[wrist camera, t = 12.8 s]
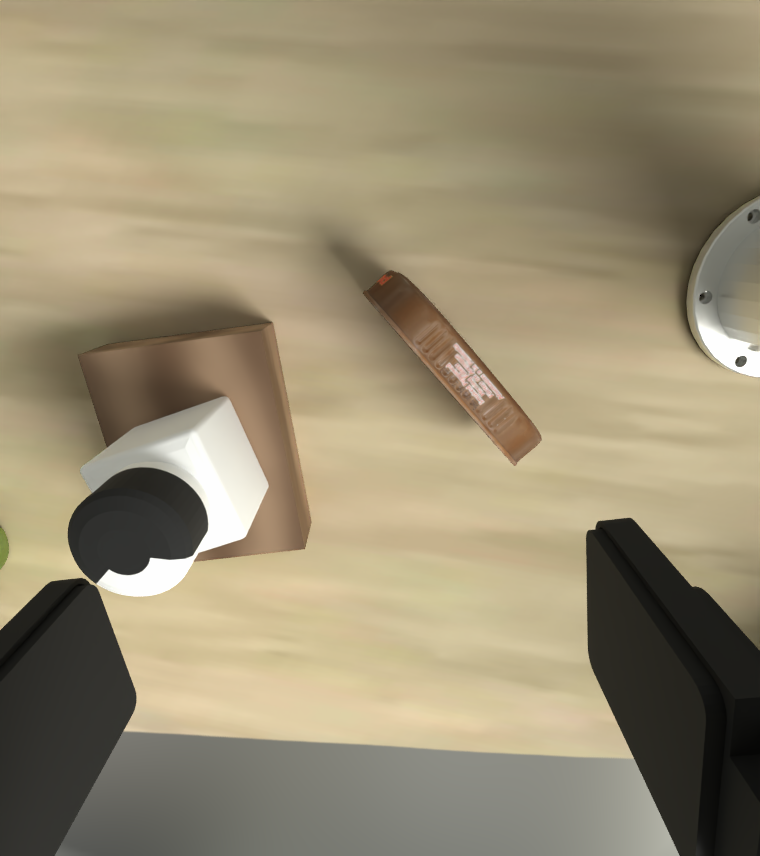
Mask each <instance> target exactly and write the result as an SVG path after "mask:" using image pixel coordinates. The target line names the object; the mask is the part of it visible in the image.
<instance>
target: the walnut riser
mask: <svg viewBox="0 0 760 856" xmlns="http://www.w3.org/2000/svg"><path fill="white" fill-rule="evenodd" d="M78 358H79V361H80V364H81V367H82V370H83V373H84V376H85V380H86V383H87V386H88V389H89V392H90V395H91V398H92V402H93V405H94V408H95V411H96V414H97V417H98V421H99V424H100V427H101V430H102V433H103V436H104V439H105V443H106V446H107V447H109V446H110V445H111V444H113V443H114V442H115V441H117V440H118V439H119V438H121V437H122V436H123V435H125V434H126V433H127V432H129V431H130V430H131V429H133V428H134V427H137V426H139V425H142V424H145V423H148V422H151V421H154V420H157V419H159V418H162V417H165V416H168V415H171V414H174V413H177V412H179V411H182V410H185V409H188V408H191V407H194V406H197V405H200V404H202V403H205V402H208V401H211V400H214V399H217V398H220V397H224V396H226V397H228V398H229V399H230V401H231V403H232V405H233V408H234V410H235V412H236V414H237V416H238V418H239V421H240V423H241V425H242V427H243V429H244V432H245V434H246V436H247V438H248V440H249V442H250V445H251V447H252V449H253V451H254V453H255V456H256V458H257V460H258V462H259V464H260V466H261V469H262V471H263V473H264V475H265V477H266V480H267V482H268V486H269V487H268V489H267V491H266V493H265V495H264V498H263V500H262V502H261V504H260V506H259V509H258V511H257V513H256V515H255V517H254V519H253V522H252V524H251V526H250V528H249V530H248V533H247V535H246V537H244V538H243V539H241V540H237V541H234V542H231V543H228V544H225V545H222V546H218V547H215V548H212V549H209V550H206V551H203V552H200V553H198V555H197V556H196V558H195V560H194V561H193V562H196V561H205V560H213V559H222V558H231V557H239V556H248V555H257V554H266V553H274V552H283V551H292V550H301V549H305V547H306V542H307V538H308V534H309V530H310V526H311V517H310V512H309V507H308V501H307V496H306V491H305V486H304V481H303V476H302V470H301V465H300V460H299V455H298V450H297V445H296V439H295V434H294V429H293V424H292V419H291V414H290V408H289V403H288V398H287V393H286V388H285V383H284V377H283V372H282V367H281V362H280V357H279V352H278V346H277V341H276V336H275V331H274V326H273V322H272V323H264V324H257V325H249V326H242V327H234V328H227V329H219V330H212V331H204V332H196V333H189V334H181V335H174V336H166V337H159V338H151V339H144V340H136V341H129V342H121V343H113V344H107V345H104V346H102V347H99V348H96V349H93V350H91V351H88V352H85V353H82V354H80V355H78Z"/></svg>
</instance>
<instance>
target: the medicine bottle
mask: <svg viewBox="0 0 760 856" xmlns="http://www.w3.org/2000/svg"><path fill="white" fill-rule="evenodd" d="M80 473H81V475H82V477H83V478H84V480H85V482H86V484H87V485H88V487H89V489H90V490H91V492H92V494H91V495H90V496H88V497H87V498H86V499H85V500H84V501H83V502H81V504H80V505H79V506H78V507H77V508H76V510H75V511H74V513H73V514H72V517H71V519H70V522H69V527H68V542H69V547H70V550H71V553H72V555H73V557H74V560H75V562H76V563H77V565H78V566H79V568H80V569H81V570H82V572H83V573H84V574H85V575H86V576H87V577H88V578H89V579H90V580H92V581H93V582H94V583H96V584H97V585H99V586H101V587H102V588H104V589H106V590H109V591H111V592H114V593H117V594H121V595H126V596H151V595H156V594H159V593H162V592H164V591H167V590H169V589H170V588H172V587H174V586H175V585H176V584H178V583H179V582H180V581H181V580H182V579H183V577H184V576H185V575H186V573H187V571H188V570H189V568H190V566H191V565H192V563H193V561H194V560H195V558H196V556H197V555H198V553H200V552H203V551H206V550H209V549H212V548H215V547H218V546H222V545H225V544H228V543H231V542H234V541H237V540H241V539H243V538H244V537H246V535H247V533H248V530H249V528H250V526H251V524H252V522H253V519H254V517H255V515H256V513H257V511H258V509H259V506H260V504H261V502H262V500H263V498H264V495H265V493H266V491H267V489H268V487H269V486H268V482H267V480H266V477H265V475H264V473H263V471H262V469H261V466H260V464H259V462H258V460H257V458H256V456H255V453H254V451H253V449H252V447H251V445H250V442H249V440H248V438H247V436H246V434H245V432H244V429H243V427H242V425H241V423H240V421H239V418H238V416H237V414H236V412H235V410H234V408H233V405H232V403H231V401H230V399H229V398H228V397H226V396H224V397H220V398H217V399H214V400H211V401H208V402H205V403H202V404H200V405H197V406H194V407H191V408H188V409H185V410H182V411H179V412H177V413H174V414H171V415H168V416H165V417H162V418H159V419H157V420H154V421H151V422H148V423H145V424H142V425H139V426H137V427H134V428H133V429H131V430H130V431H129V432H127V433H126V434H125V435H123V436H122V437H121V438H119V439H118V440H117V441H115V442H114V443H113V444H111V445H110V446H109V447H107V448H106V449H105V450H103V451H102V452H101V453H99V454H98V455H96V456H95V457H94V458H92V459H91V460H90V461H88V462H87V463H86V464H84V465H83V466H82V467H81V469H80Z"/></svg>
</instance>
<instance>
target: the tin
mask: <svg viewBox="0 0 760 856" xmlns="http://www.w3.org/2000/svg"><path fill="white" fill-rule="evenodd" d="M363 294H364V295H365V296H366V298H367V299H368V300H369V301H370V302H371V304H372V305H373V306H374V307H375V308H376V309H377V311H378V312H379V313H380V314H381V315H382V316H383V317H384V319H385V320H386V321H387V322H388V323H389V324H390V325H391V326H392V328H393V329H394V330H395V331H396V332H397V333H398V334H399V335H400V337H401V338H402V339H403V340H404V341H405V343H406V344H407V345H408V346H409V347H410V348H411V349H412V350H413V352H414V353H415V354H416V355H417V356H418V357H419V358H420V359H421V361H422V362H423V363H424V364H425V365H426V366H427V368H428V369H429V370H430V371H431V372H432V373H433V374H434V376H435V377H436V378H437V379H438V380H439V381H440V382H441V383H442V384H443V386H444V387H445V388H446V389H447V390H448V391H449V392H450V393H451V395H452V396H453V397H454V398H455V399H456V400H457V402H458V403H459V404H460V405H461V406H462V407H463V408H464V409H465V411H466V412H467V413H468V414H469V415H470V416H471V417H472V419H473V420H474V421H475V422H476V423H477V424H478V425H479V427H480V428H481V429H482V430H483V431H484V432H485V433H486V435H487V436H488V437H489V438H490V439H491V440H492V441H493V443H494V444H495V445H496V446H497V447H498V448H499V449H500V450H501V451H502V453H503V454H504V455H505V456H506V457H507V458H508V459H509V461H510V462H511V463H512V464H513V465H514V466H516V464H517V462H518V461H519V460H520V459H521V458H523V457H524V456H525V455H526V454H527V453H529V452H530V451H531V450H532V449H533V448H535V447H536V446H537V445H538V444H539V443H540V441H541V435H540V433H539V431H538V430H537V428H536V427H535V425H534V424H533V423H532V421H531V420H530V419H529V418H528V416H527V415H526V414H525V413H524V411H523V410H522V409H521V407H520V406H519V405H518V404H517V403H516V401H515V400H514V399H513V398H512V397H511V395H510V394H509V393H508V392H507V391H506V389H505V388H504V387H503V386H502V384H501V383H500V382H499V381H498V380H497V379H496V377H495V376H494V375H493V374H492V372H491V371H490V370H489V369H488V368H487V366H486V365H485V364H484V363H483V362H482V360H481V359H480V358H479V357H478V356H477V355H476V353H475V352H474V351H473V350H472V349H471V348H470V346H469V345H468V344H467V343H466V342H465V341H464V339H463V338H462V337H461V336H460V335H459V334H458V333H457V331H456V330H455V329H454V328H453V327H452V326H451V325H450V323H449V322H448V321H447V320H446V319H445V318H444V316H443V315H442V314H441V313H440V312H439V311H438V310H437V308H436V307H435V306H434V305H433V304H432V303H431V302H430V301H429V300H428V299H427V297H426V296H425V295H424V294H423V293H422V292H421V291H420V290H419V289H418V288H417V287H416V286H415V285H414V284H413V283H412V282H411V281H410V280H409V279H408V278H406V277H405V276H404V275H402V274H400V273H398V272H394V271H389V272H387V273H386V274H385V275H384V276H382V277H381V278H380V279H379V280H378V281H377V282H376V283H375V284H374V285H373V286H372V287H371V288H370V289H369V290H367V291H364V292H363Z"/></svg>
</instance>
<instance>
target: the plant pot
mask: <svg viewBox="0 0 760 856" xmlns="http://www.w3.org/2000/svg"><path fill="white" fill-rule="evenodd" d="M8 553H9V545H8V540H7V537H6V534H5V532H4V530H3V529H2V528H0V569H1V568H2V567H3V565H4V564H5V562H6V560H7V557H8Z"/></svg>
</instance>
